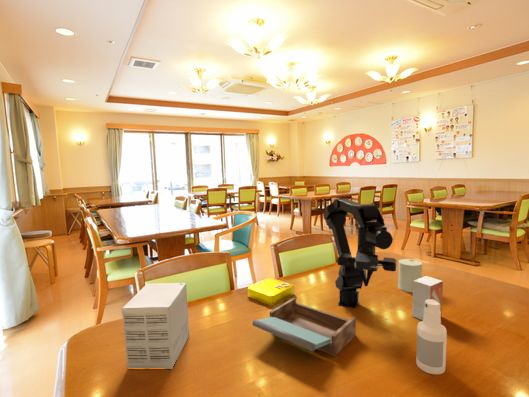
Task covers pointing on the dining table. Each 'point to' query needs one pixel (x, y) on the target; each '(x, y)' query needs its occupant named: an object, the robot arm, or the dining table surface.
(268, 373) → the dining table surface
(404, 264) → the can
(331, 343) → the open wooden crate
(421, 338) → the spray bottle
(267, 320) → the panel
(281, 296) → the element tile
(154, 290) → the supplement box
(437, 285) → the small box
